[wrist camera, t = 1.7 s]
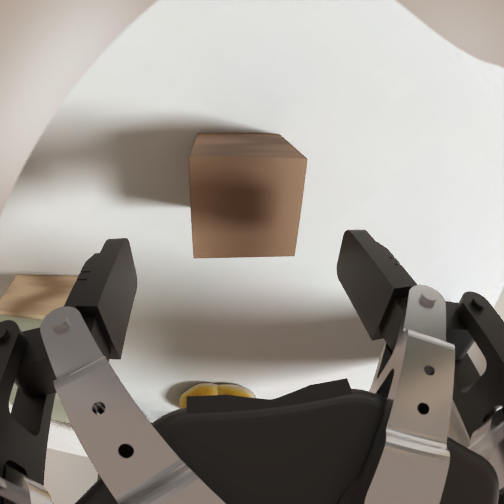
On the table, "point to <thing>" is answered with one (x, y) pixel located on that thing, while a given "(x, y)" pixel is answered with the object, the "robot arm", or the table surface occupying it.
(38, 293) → the oak block
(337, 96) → the table surface
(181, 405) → the bread roll
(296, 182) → the walnut block
